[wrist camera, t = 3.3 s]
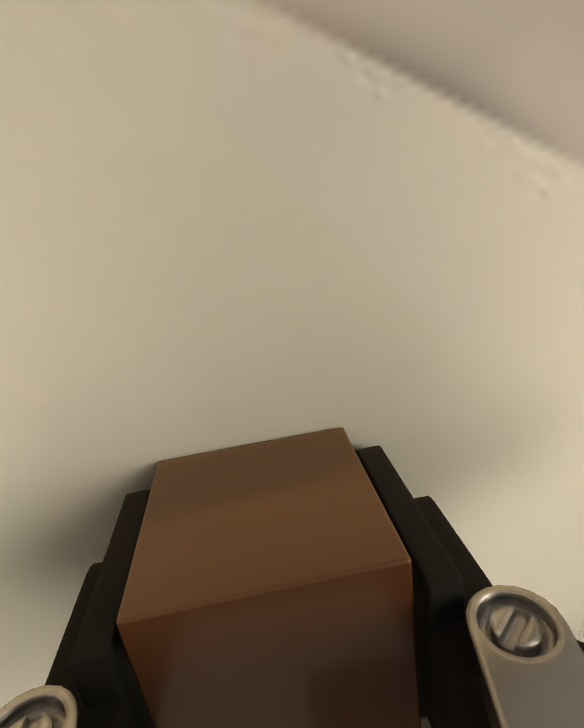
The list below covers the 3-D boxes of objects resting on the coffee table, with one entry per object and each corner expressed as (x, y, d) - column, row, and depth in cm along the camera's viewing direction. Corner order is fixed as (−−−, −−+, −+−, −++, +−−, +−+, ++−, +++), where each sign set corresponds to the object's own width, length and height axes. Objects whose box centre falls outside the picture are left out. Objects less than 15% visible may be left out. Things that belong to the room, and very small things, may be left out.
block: (157, 460, 10) (113, 623, 6) (343, 425, 10) (412, 559, 6) (196, 604, 11) (181, 809, 7) (358, 569, 11) (423, 748, 8)
